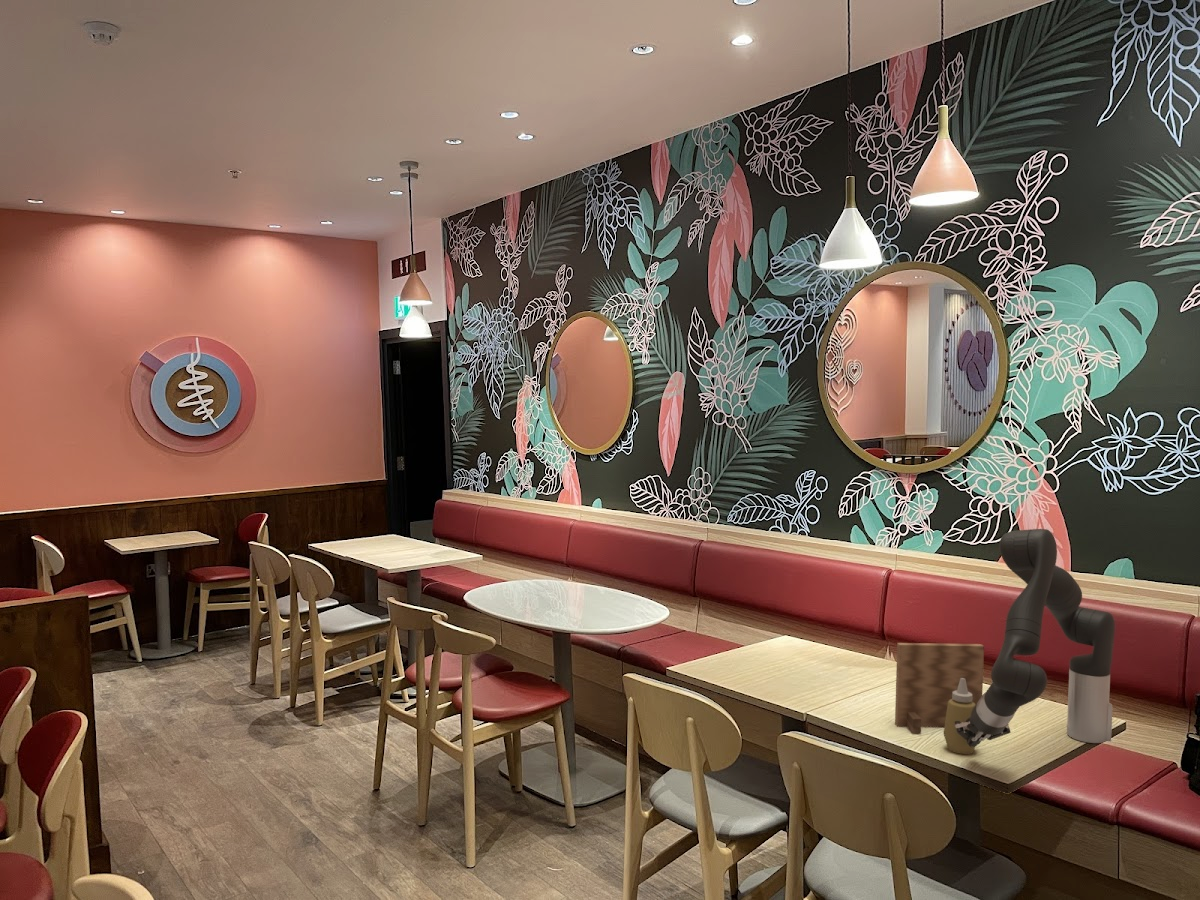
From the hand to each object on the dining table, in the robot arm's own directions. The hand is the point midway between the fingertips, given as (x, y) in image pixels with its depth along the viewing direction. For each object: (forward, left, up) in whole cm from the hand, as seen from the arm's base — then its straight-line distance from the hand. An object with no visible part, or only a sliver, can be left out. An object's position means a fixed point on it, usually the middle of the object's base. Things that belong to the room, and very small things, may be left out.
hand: (971, 742), depth 214 cm
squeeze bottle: (0, -6, -4) cm, 8 cm away
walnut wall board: (0, -20, -4) cm, 20 cm away
